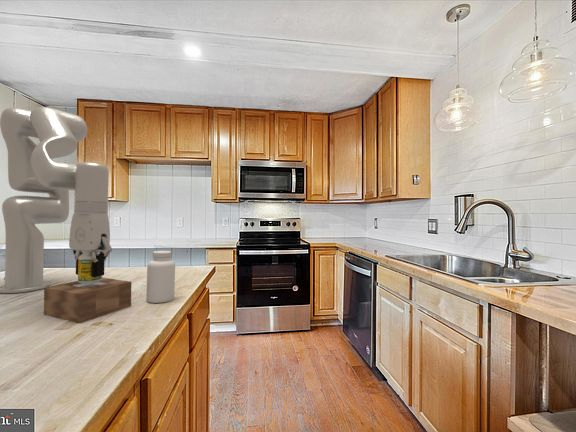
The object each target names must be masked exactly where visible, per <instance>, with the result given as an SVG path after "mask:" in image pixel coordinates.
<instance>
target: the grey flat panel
mask: <svg viewBox="0 0 576 432" xmlns="http://www.w3.org/2000/svg"><path fill="white" fill-rule="evenodd" d="M104 284H108V283H103V282H96V283H90V284H78V285H73V287H79V288H85V289H87V288H91V287H95V286H100V285H104Z"/></svg>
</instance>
